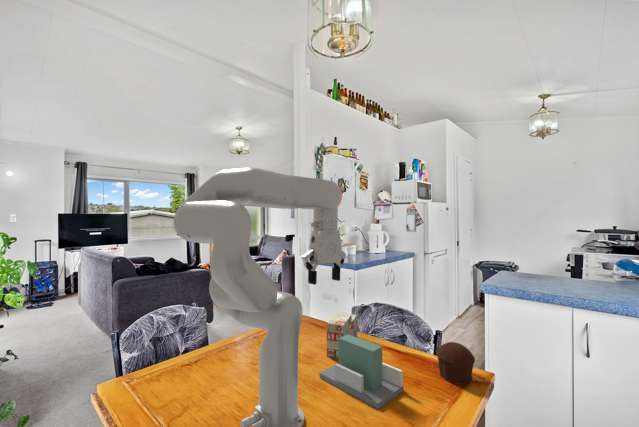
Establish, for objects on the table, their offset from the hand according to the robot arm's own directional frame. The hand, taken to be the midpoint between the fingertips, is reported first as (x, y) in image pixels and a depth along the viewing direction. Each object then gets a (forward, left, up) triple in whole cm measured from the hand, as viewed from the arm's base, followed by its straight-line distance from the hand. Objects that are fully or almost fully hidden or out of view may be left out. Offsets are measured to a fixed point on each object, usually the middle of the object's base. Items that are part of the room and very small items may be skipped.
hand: (324, 281), depth 97 cm
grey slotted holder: (+6, -9, -30) cm, 32 cm away
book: (+6, -9, -29) cm, 30 cm away
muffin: (+31, -27, -30) cm, 51 cm away
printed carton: (+23, +12, -30) cm, 40 cm away
